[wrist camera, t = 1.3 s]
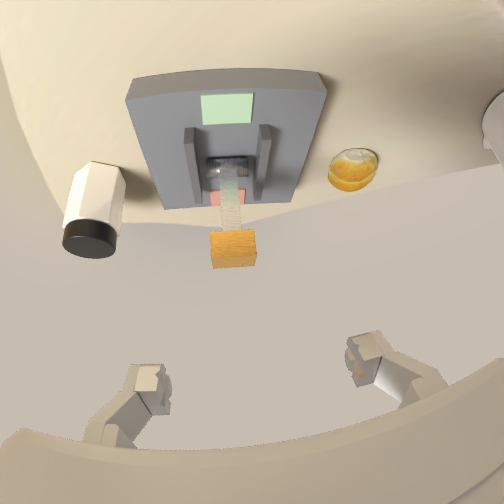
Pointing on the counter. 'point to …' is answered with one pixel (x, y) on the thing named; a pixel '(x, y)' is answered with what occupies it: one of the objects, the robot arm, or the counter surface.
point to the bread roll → (352, 169)
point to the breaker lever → (230, 216)
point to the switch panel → (225, 130)
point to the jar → (94, 211)
